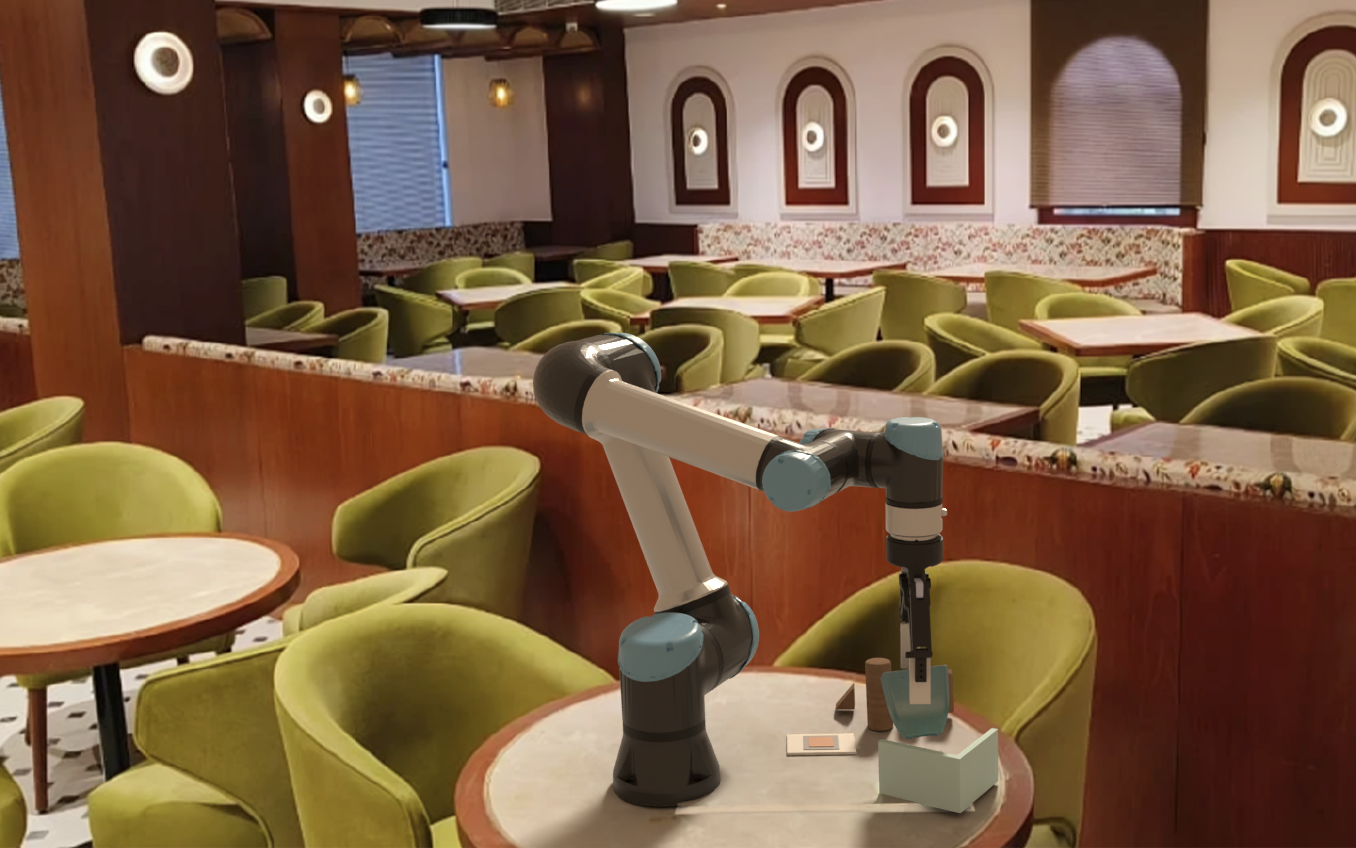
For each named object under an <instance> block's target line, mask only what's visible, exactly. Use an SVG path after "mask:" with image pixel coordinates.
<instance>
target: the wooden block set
mask: <svg viewBox="0 0 1356 848" xmlns="http://www.w3.org/2000/svg"><path fill="white" fill-rule="evenodd" d="M864 665H865V666H864V668H865V691H866V692H865V693H866V695H865V696H866V716H867V717H866V718H867V727H868V729H869V728H870V729H869V730H871V731H876V732H884V731H885V732H886V731H889V730H891V729H893V727H894V723H893V721H892V719H891V716H890V714H889V711H888V708H887V704H886V700H885V696H884V692H883V688H882V684H881V680H880V678H881V676H882V673H884V672H890V671H892V662H891V660H890V659H888V658H885V657H872V658H867V660H866V661H865V662H864ZM953 676H954V675H953V670H952V668H948V682H949V711H948V714H951V713H954V711H955V708H954V707H955V705H954V703H955V702H954V701H955V700H954V699H955V698H954V679H953V678H954V677H953ZM855 689H856V688H855V682H853V683H852V684H851V685H850V686H849V688H847V690H846V691H845V692H844V694H843V695H842V696H841V697H840V698H839V700H837V702H836V703H835V709H834V710H836V711H841V710H845V711H847V710H855V708H856V695H855V694H856V693H855Z"/></svg>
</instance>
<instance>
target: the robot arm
mask: <svg viewBox="0 0 1356 848" xmlns="http://www.w3.org/2000/svg"><path fill="white" fill-rule="evenodd" d="M534 369H535V370H534V372H533V378H532V379H533V380H532V387H533V389H532V390H533V394H534V397H535V400H536V403H537V404H538V406H539V408H540V409H541V410H542V412H543V413H544V414H545V415H546V416H547V417H548V418H550V419H551V421H552V420H553V422H555V423H556V424H558V425H561V426H563V427H566V428H568V429H571V430H573V431H575V432H578V433H581V434H584V435H587V436H588V437H589V438H590V439H593V440H595V441H598V443H600V444H601V445H602V448H603V449H604V453H605V455H606V457H607V461H608V463H609V465H610V466H609V467H610V468H611V471H612V474H613V476H614V479H615V482H616V484H617V488H618V490H619V492H620V495H621V499H622V500H623V503H624V506H625V508H626V511H627V513H628V516H629V519H630V521H631V522H630V523H631V524H632V527H633V529H634V532H635V534H636V538H637V541H638V542H639V546H640V549H641V551H642V554H643V556H644V559H645V562H646V564H647V567H648V569H649V572H650V574H651V577H652V580H653V582H654V585H655V587H656V590H657V593H658V598H657V600H656V603H655V606H654V608H653V611H654V614H652V615H651V616H646V615H645V616H643V617H639V618H638V619H636V620H634V621H632V622H631V623H629V624H628V625H627V626H626V627H625V628H624V629H623V630H622V632H621V635H620V637H619V640H618V652H617V653H618V654H617V664H618V667H619V683H620V698H621V716H622V717H621V718H622V737H621V741H620V745H619V748H618V752H617V756H616V759H615V763H614V766H613V771H612V782H613V783H612V785H613V787H612V788H613V790H614V793H616V795H617V796H618V797H619V798H620V799H623V800H625V801H627V802H630V803H632V804H637V805H641V806H648V807H676V806H678V804H682V803H686V802H691V801H695V800H698V799H701V798H704V797H706V796H708V795H710V794H711V793H713V792H714V791H715V790H716V789H717V788H718V786H720V784H721V768H720V764H719V761H718V758H717V755H716V753H715V750H714V747H713V745H712V742H711V740H710V737H709V735H708V732H707V726H706V705H705V704H706V701H705V699H706V698H705V695H707V694H709V693H710V692H711V691H714V690H715V689H716V688H718V687H719V686H720V685H722V684H723V683H725V682H726V681H728V680H729V679H730V680H731V679H732V678H734V677H736V676H737V675H738V674H740V673H741V672H742V671H743V670H744V669H745V667H746V666H747V665H749V663H750V662H751V661H752V659H753V658H754V656H755V654H756V652H757V650H758V647H759V640H760V629H759V624H758V621H757V618H756V614H754V611H753V610H752V609H751V606H749V605H748V603H746V602H745V601H742V600H741V599H740V598H739V597H738V596H736V595H733V593H732V591H731V588H730V585H729V583H728V582H727V580H725V579H723V578H721V577H719V576H717V575H715V574H714V572H713V570H712V567H711V565H710V562H709V560H708V557H707V555H706V554H707V553H706V551H705V549H704V545H703V544H702V541H701V538H700V536H699V532H698V530H697V527H696V525H695V522H694V520H693V517H692V514H691V511H690V508H689V506H688V504H687V501H686V499H685V496H684V494H683V491H682V488H681V485H680V483H679V480H678V477H677V475H676V474H677V473H676V472H675V470H674V467H673V463H672V461H671V459H674V460H675V461H676V460H677V461H680V462H681V463H682V462H683V463H685V464H687V465H690V466H692V467H696V468H699V469H701V470H704V471H707V472H709V473H712V474H714V475H718V476H720V477H723V478H725V479H728V480H732V481H733V482H737V483H740V484H741V485H745V486H747V487H750V488H753V489H755V490H759V491H761V492H764V494H765V496H766V498H767V499H768V500H769V501H770V502H771V504H773V505H774V507H775V508H778V509H780V510H781V511H784V512H785V511H786V512H799V511H802V510H806V509H807V510H808V509H810V508H812V507H815V506H816V505H818V504H820V503H821V502H823V501H824V500H825V499H827V498H829V497H830V496H833V495H835V494H837V493H839V492H841V491H843V490H844V489H847V488H848V487H863V488H874V489H884V491H885V531H886V532H887V533H888V534H887V535H886V537H885V538H886V539H885V544H886V545H885V550H886V551H885V552H886V553H885V554H886V556H885V558H886V561H887V562H888V563H889V564H890V565H892V566H894V567H897V568H898V567H899V568H900V572H899V573H898V585H899V606H898V611H899V613H900V614H899V619H900V621H901V622H900V669H901V670H907V669H909V702H910V704H931V661H932V658H933V654H934V653H933V649H932V648H933V647H932V631H931V630H932V629H931V627H932V626H931V593H930V591H931V588H932V581H931V577H930V575H929V572H926V569H928V568H933V567H936V566H938V565H940V564H941V563H942V562H943V561H944V560H943V559H944V537H943V536H942V535H941V534H940V533H941V532H942V531H943V524H944V523H943V522H944V521H943V520H944V519H943V518H942V517H945V516H947V515H948V510H947V509H946V508H943V498H944V497H943V492H944V491H943V489H944V487H943V485H944V483H943V482H944V481H943V480H944V479H943V478H944V457H945V455H944V454H945V452H944V449H943V432H942V426H941V424H940V423H939V422H938V421H937V420H935V419H932V418H929V417H923V416H921V417H920V416H912V417H910V416H909V417H907V416H905V417H904V416H902V417H895V418H891V419H889V420H888V421H887V422H886V423H885V425H884V428H885V429H884V430H883V431H881V432H875V431H865V430H864V431H860V430H847V429H839V428H834V427H827V428H811V429H809V430H808V429H807V431H806V432H805V433H803V436H802V438H801V439H800V440H799V442H797V441H794V440H792V439H788V438H785V437H782V436H779V435H778V434H775V433H771V432H768V431H766V430H763V429H761V428H757V427H755V426H751V425H748V424H746V423H743V422H741V421H738V420H734V419H731V418H728V417H726V416H723V415H721V414H717V413H714V412H711V411H709V410H705V409H703V408H700V407H698V406H694V405H691V404H689V403H685V402H682V401H680V400H677V399H675V398H671V397H668V396H665V395H662V394H659V393H658V391H659V389H660V383H661V382H662V369H661V365H660V362H659V359H658V357H657V355H656V352H654V350H653V349H652V348H651V346H650V345H649V344H648V343H647V342H646V341H644V340H643V339H641V338H640V337H638V336H636V335H633V334H631V333H627V332H604V333H601V334H597V335H593V336H589V337H585V338H582V339H578V340H572V341H567V342H564V343H560V344H557V345H555V346H554V347H552V348H550V349H549V350H548V351H547V352H545V354H544V355H543V356H542V357H541V358H540V359H539V360H538V362H537V365H536V367H535V368H534ZM670 458H671V459H670Z"/></svg>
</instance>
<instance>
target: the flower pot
mask: <svg viewBox="0 0 1356 848" xmlns="http://www.w3.org/2000/svg"><path fill="white" fill-rule="evenodd" d="M948 669H949V667H948V664H939V665H932V666H931V704H910V702H909V669H901V670H891V671H890V672H884V673H882V676H881V678H880V680H881V684H882V688H883V692H884V696H885V700H886V704H887V708H888V711H889V714H890V716H891V719H892V721H893V726H895V728H896V729H897V730H896V731H897V732H898V733H899V734H900V736H901V738H903V739H906V740H912V739H915V738H921V737H930V736H931V737H937V736H939V735H941V734H942V733H943V732H944V731H945V728H946V724H947V720H948V716H949V713H948V711H949V682H948Z"/></svg>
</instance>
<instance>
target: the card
mask: <svg viewBox="0 0 1356 848" xmlns="http://www.w3.org/2000/svg"><path fill="white" fill-rule="evenodd" d="M855 741H856V740H855V733H853V732H851V733H850V732H849V733H843V732H842V733H798V734H794V733H793V734H790V733H789V734H788V733H786V750H787V751H786V753H787V754H786V755H787V756H819V755H820V756H829V755H838V756H839V755H841V756H842V755H857V747H856V742H855Z"/></svg>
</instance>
